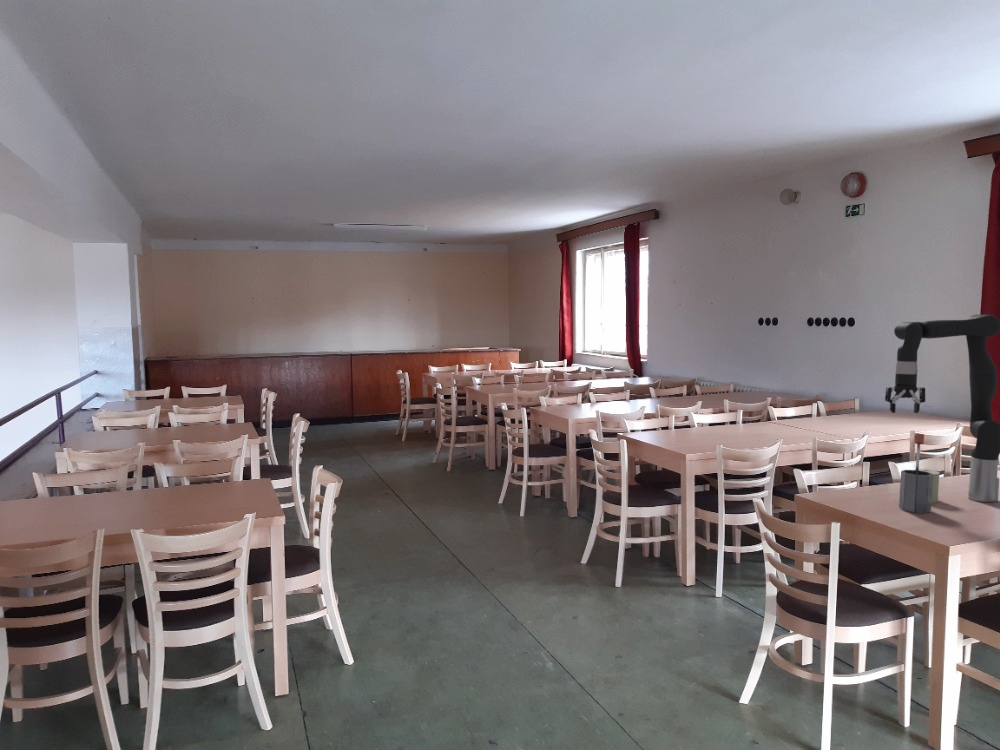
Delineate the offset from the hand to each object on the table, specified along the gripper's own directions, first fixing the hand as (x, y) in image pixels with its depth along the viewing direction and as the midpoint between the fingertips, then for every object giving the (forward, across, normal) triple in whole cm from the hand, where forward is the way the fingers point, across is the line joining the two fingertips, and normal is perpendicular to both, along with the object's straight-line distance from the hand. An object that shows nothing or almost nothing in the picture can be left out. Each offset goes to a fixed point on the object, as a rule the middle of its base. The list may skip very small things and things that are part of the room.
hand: (904, 412), depth 288 cm
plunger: (+27, 0, +14) cm, 30 cm away
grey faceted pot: (+36, 0, +13) cm, 38 cm away
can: (+36, -11, -3) cm, 38 cm away
